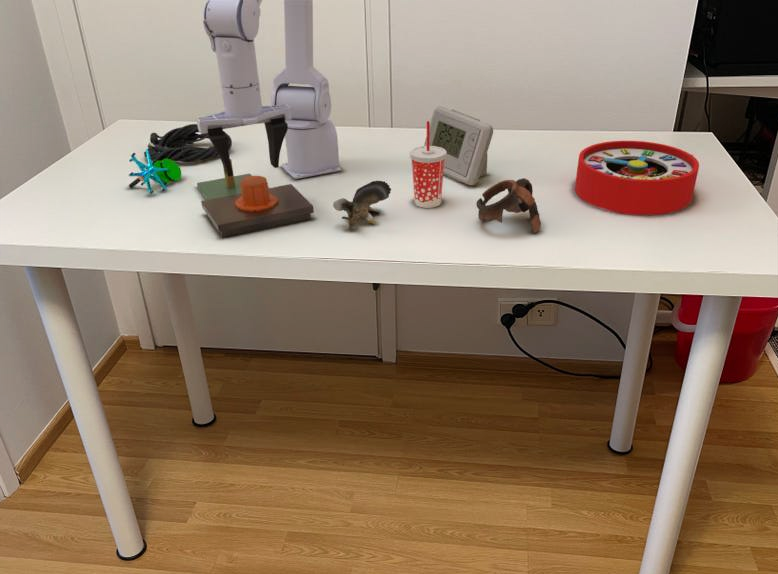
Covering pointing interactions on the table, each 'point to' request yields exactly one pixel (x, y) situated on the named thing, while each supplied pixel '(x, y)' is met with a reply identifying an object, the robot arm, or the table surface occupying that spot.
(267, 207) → the hat
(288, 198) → the stand
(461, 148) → the digital clock
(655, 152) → the toy clock
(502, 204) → the brown broken ring
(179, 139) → the cable
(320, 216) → the table surface
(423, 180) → the beverage cup
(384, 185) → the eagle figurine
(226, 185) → the stand
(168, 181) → the stick construction toy
